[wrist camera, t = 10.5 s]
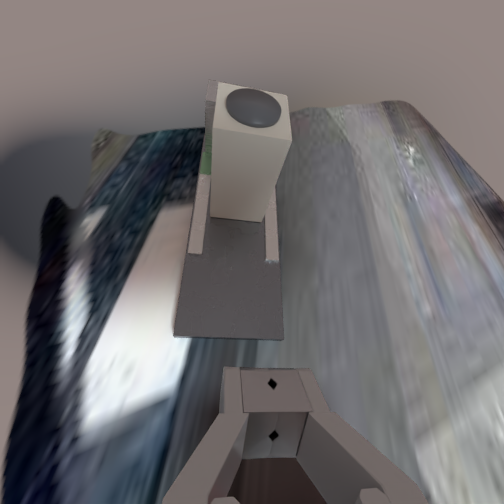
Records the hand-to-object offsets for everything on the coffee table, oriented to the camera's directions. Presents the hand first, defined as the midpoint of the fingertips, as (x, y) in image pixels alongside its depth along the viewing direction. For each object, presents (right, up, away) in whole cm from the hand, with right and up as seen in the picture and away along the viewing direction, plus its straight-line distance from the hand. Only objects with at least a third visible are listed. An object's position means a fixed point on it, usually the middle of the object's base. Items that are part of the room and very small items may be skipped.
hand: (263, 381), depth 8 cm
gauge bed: (-2, +8, +20) cm, 22 cm away
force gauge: (-2, +12, +21) cm, 24 cm away
